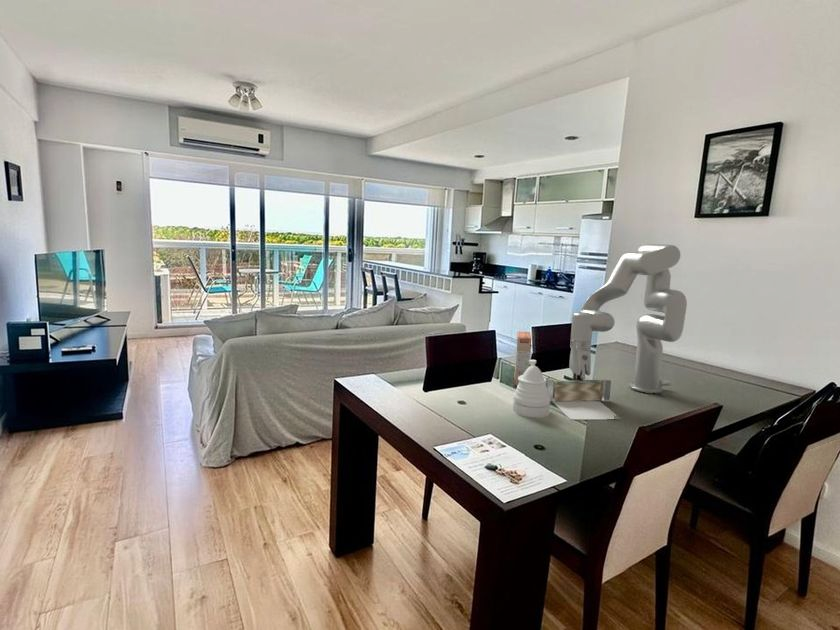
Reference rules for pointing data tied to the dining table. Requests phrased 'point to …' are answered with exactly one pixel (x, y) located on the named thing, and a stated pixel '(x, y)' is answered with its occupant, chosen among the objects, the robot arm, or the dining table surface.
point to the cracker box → (522, 354)
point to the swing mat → (585, 410)
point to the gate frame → (604, 399)
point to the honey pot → (532, 393)
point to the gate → (578, 390)
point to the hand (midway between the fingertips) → (577, 390)
